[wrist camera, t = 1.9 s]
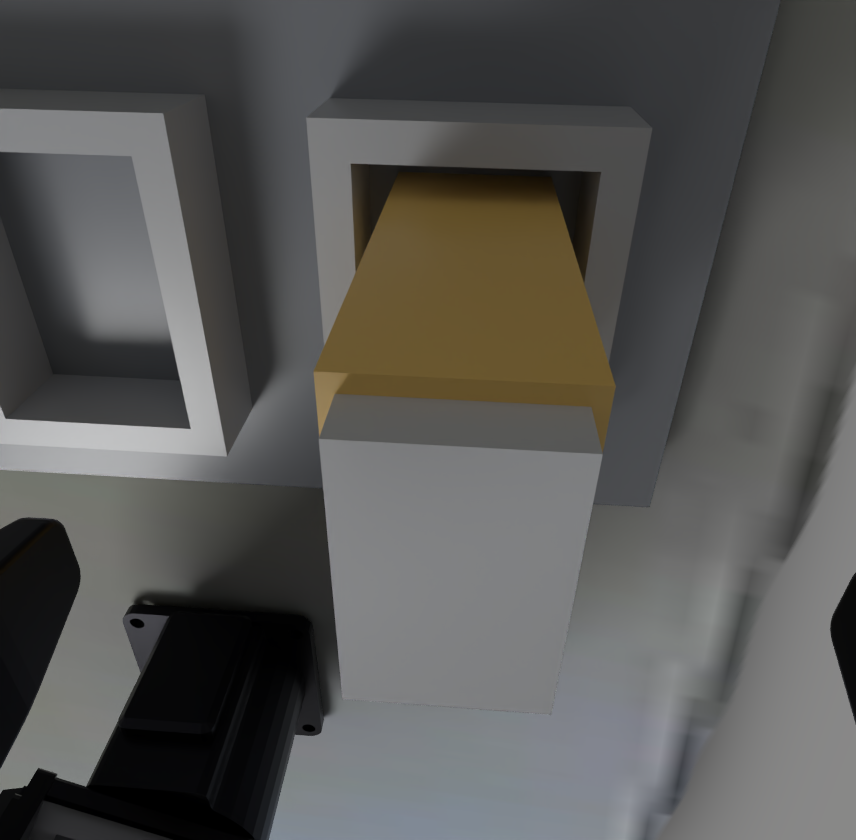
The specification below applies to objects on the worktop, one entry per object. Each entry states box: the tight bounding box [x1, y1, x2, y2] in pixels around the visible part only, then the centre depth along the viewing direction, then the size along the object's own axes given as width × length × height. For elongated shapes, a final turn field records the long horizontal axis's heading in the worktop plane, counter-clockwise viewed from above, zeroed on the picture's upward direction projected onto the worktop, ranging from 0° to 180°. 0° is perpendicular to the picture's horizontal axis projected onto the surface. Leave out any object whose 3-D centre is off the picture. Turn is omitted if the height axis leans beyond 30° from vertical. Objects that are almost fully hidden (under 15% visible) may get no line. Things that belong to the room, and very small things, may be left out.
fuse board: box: [0, 0, 781, 507], centre depth 15 cm, size 12×18×4 cm, turn 89°
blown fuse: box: [313, 172, 616, 715], centre depth 11 cm, size 3×4×9 cm, turn 179°
